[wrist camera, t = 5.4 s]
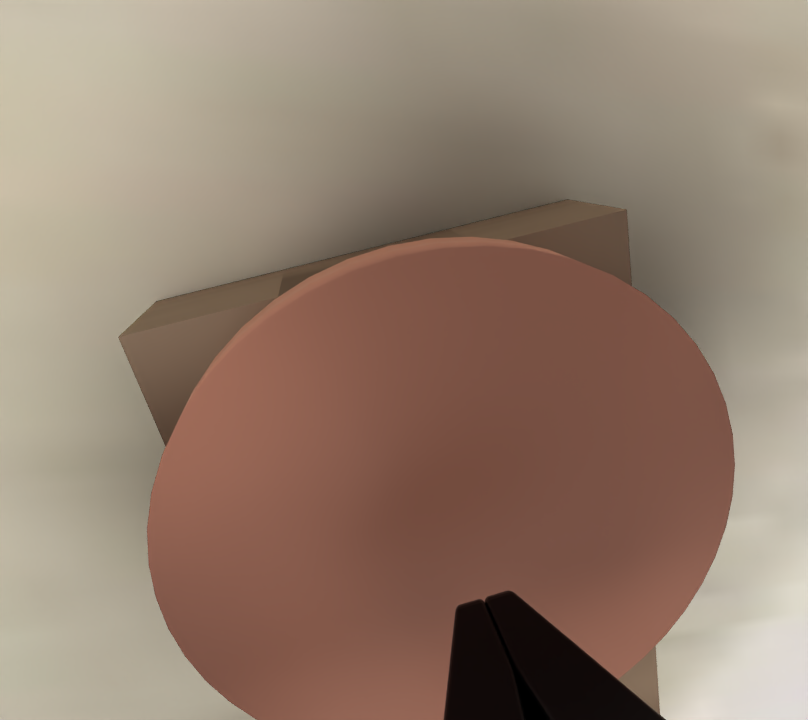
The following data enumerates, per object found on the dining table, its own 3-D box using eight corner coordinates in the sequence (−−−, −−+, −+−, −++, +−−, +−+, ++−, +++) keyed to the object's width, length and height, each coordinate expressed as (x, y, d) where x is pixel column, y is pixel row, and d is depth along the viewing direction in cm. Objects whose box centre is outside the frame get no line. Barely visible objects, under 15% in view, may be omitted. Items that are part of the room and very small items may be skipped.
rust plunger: (625, 535, 16) (733, 666, 12) (275, 638, 15) (261, 815, 11) (593, 166, 12) (737, 172, 8) (128, 280, 11) (27, 349, 7)
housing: (623, 741, 23) (667, 822, 20) (363, 824, 22) (371, 920, 19) (567, 199, 15) (626, 209, 12) (155, 301, 14) (118, 337, 11)
